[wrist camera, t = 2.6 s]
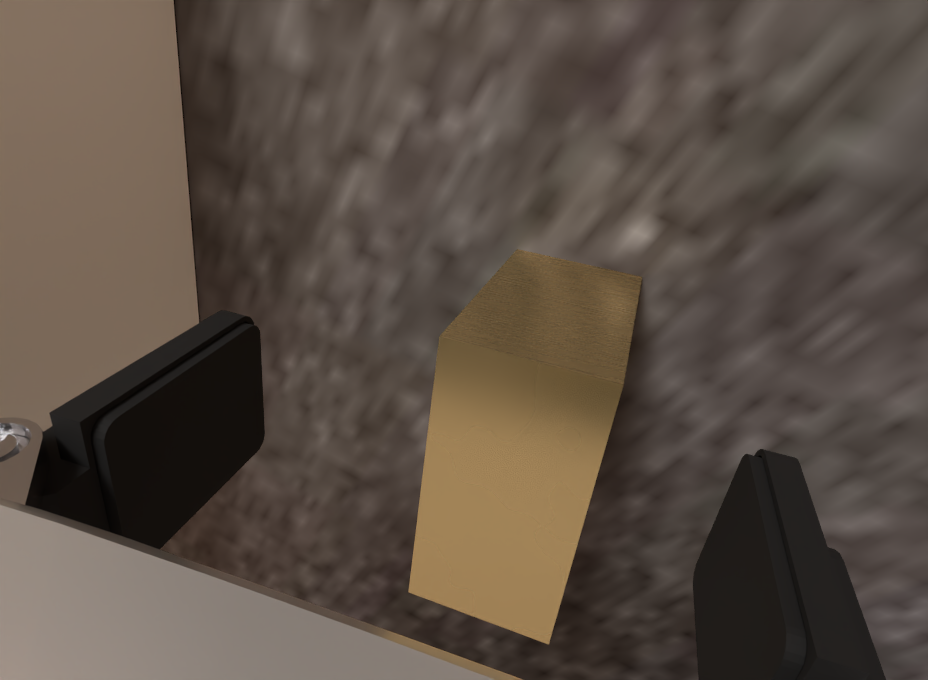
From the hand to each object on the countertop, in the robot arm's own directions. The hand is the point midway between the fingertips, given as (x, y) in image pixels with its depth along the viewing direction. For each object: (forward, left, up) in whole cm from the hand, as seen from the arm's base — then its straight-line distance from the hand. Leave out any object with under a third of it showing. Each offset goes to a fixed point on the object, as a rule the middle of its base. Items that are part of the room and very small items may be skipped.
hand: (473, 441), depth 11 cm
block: (-1, -1, -5) cm, 5 cm away
